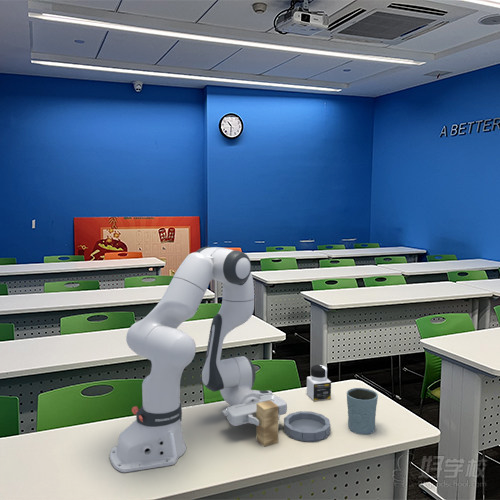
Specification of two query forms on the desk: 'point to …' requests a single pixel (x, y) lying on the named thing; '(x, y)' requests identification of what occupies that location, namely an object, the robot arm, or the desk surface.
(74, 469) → the desk surface
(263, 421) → the oak block
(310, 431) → the bowl
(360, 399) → the blue-grey cup
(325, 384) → the medicine bottle
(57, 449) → the desk surface
